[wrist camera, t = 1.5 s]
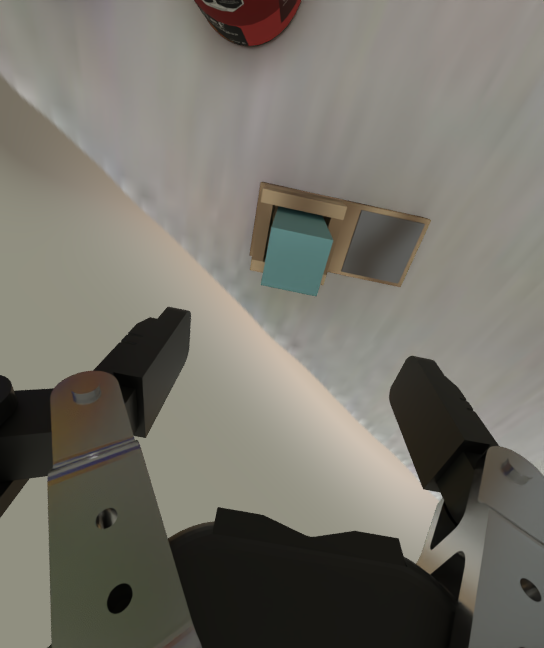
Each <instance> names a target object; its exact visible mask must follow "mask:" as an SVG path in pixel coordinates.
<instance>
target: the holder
mask: <svg viewBox="0 0 544 648" xmlns="http://www.w3.org/2000/svg"><path fill="white" fill-rule="evenodd" d="M278 206H281V207H285V208H290V209H295V210H299V211H304V212H308V213H313V214H318V215H322V216H323V218H324V220H325V223H326V225H327V227H328V229H329V232H330V234H331V236H332V238H333V243H332V247H331V250H330V253H329V257H328V260H327V263H326V266H325V270H324V273H323V276H322V280H321V283H320V285H323V284H324V281H325V278H326V275H327V272H331V273H336V274H341V275H345V276H350V277H355V278H360V279H364V280H369V281H374V282H379V283H383V284H388V285H393V286H398V287H401V285H402V283H403V280H404V278H405V276H406V274H407V272H408V269H409V267H410V265H411V263H412V261H413V259H414V256H415V254H416V252H417V250H418V248H419V246H420V243H421V241H422V239H423V237H424V235H425V233H426V230H427V228H428V226H429V224H430V222H431V220H430V219H428V218H424V217H419V216H415V215H410V214H406V213H401V212H397V211H392V210H387V209H383V208H378V207H374V206H369V205H365V204H360V203H356V202H351V201H347V200H342V199H338V198H333V197H329V196H324V195H319V194H315V193H310V192H306V191H301V190H297V189H292V188H288V187H283V186H279V185H274V184H270V183H265V182H261V184H260V191H259V197H258V204H257V210H256V216H255V223H254V229H253V236H252V242H251V249H250V255H251V256H252V260H251V266H250V270H252V271H257V272H262V273H263V270H264V265H265V260H266V254H267V249H268V243H269V238H270V233H271V227H272V224H273V221H274V218H275V215H276V212H277V209H278Z"/></svg>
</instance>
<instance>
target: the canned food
mask: <svg viewBox="0 0 544 648" xmlns="http://www.w3.org/2000/svg"><path fill="white" fill-rule="evenodd" d="M194 1H195V2H196V4H197V5H198V7H199V8H200V10H201V11H202V13H203V14H204V16H205V17H206V19H207V20H208V22H209V23H210V25H211V26H212V27H213V28H214V29H215V30H216V31H217V32H218V33H219V34H220V35H221V36H223V37H224V38H226V39H227V40H229V41H231V42H233V43H236V44H238V45H245V46H253V45H260V44H263V43H265V42H268V41H270V40H271V39H273V38H274V37H276V36H277V35H279V34H280V33H281V32H282V31H283V30H284V29H285V27H286V26H287V25H288V24H289V23H290V21H291V20H292V18H293V16H294V15H295V13H296V11H297V9H298V7H299V4H300V2H301V0H194Z"/></svg>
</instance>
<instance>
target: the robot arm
mask: <svg viewBox="0 0 544 648" xmlns="http://www.w3.org/2000/svg"><path fill="white" fill-rule="evenodd" d="M190 322H191V313H190V311H187V310H182V309H177V308H172V307H167V308H166V309H165V310H164V312H163V313H162V314H161V315H160V316H159V318H158V319H155V318H148V319H146V320H144V321H142V322H140V323H138V324H136V325H135V326H134V328H132V330H131V331H130V332H129V333H128V335H126V336H125V337H124V338H123V339H122V341H121V343H118V345H117V346H116V347H115V348H114V349H113V350H112V351H111V352H110V353H109V354H108V355H107V356H106V357H105V359H104V360H103V361H102V362H101V363H100V364H99V365H98V366H97V367H96V368H95V369H94V370H93V371H86V372H81V373H77V374H75V375H72V376H70V377H68V378H66V379H64V380H62V381H61V382H60V383H59V384H58V385H57V386H56V387H55V388H53V389H39V390H21V391H14V390H13V387H12V384H11V382H10V380H9V379H8V378H6V377H4V376H2V375H0V517H1V516H2V515H3V513H4V512H5V511H6V509H7V508H8V507H9V505H10V504H11V503H12V501H13V500H14V499H15V497H16V496H17V495H18V493H19V492H20V491H21V489H22V488H23V486H24V485H25V484H26V483H27V481H28V480H29V478H36V477H43V476H48V519H49V520H48V523H49V560H50V599H51V638H52V644H51V645H50V646H49V647H48V648H544V476H543V475H542V474H541V472H540V471H539V470H538V469H537V468H536V467H535V466H534V465H533V464H532V463H530V462H529V461H528V460H527V459H525V458H524V457H522V456H521V455H519V454H518V453H516V452H514V451H512V450H510V449H507V448H504V447H500V446H499V445H498V444H497V442H496V441H495V439H494V438H493V437H492V435H491V434H490V432H489V431H488V430H487V428H486V427H485V425H484V424H483V422H482V421H481V420H480V418H479V417H478V415H477V414H476V412H473V408H472V407H471V405H470V404H469V402H467V401H466V398H465V397H464V395H463V394H462V393H461V391H460V390H459V388H458V387H457V386H456V385H455V384H453V383H452V382H451V381H450V380H449V379H448V378H447V377H446V376H444V374H443V373H442V371H441V370H440V368H439V367H438V365H437V364H436V363H435V361H433V360H430V359H425V358H420V357H415V356H410V357H408V358H407V359H406V361H405V363H404V364H403V366H402V368H401V370H400V372H399V374H398V375H397V377H396V379H395V381H394V383H393V385H392V386H391V389H390V394H389V400H390V404H391V407H392V409H393V412H394V415H395V417H396V420H397V422H398V425H399V428H400V430H401V433H402V435H403V438H404V440H405V443H406V446H407V448H408V451H409V453H410V456H411V459H412V461H413V464H414V466H415V469H416V472H417V474H418V477H419V479H420V482H421V485H422V487H423V489H425V490H430V491H436V492H441V495H442V497H443V498H442V499H441V501H440V502H439V503H438V505H437V507H436V510H435V513H434V516H433V519H432V522H431V526H430V528H429V532H428V535H427V538H426V541H425V544H424V547H423V550H422V553H421V556H420V557H419V559H418V561H417V563H416V564H415V563H414V562H412V561H410V560H409V559H407V558H405V557H403V553H402V550H401V546H400V542H399V539H398V538H392V537H387V536H381V535H376V534H370V533H364V532H358V531H351V532H344V533H338V534H331V535H324V536H317V537H309V536H306V535H304V534H302V533H299V532H297V531H295V530H293V529H291V528H289V527H287V526H285V525H283V524H281V523H279V522H277V521H274V520H272V519H270V518H268V517H266V516H264V515H260V514H254V513H248V512H243V511H237V510H231V509H225V508H220V507H218V508H217V513H216V518H215V521H214V522H207V523H202V524H198V525H195V526H192V527H189V528H187V529H185V530H182V531H180V532H178V533H177V534H175V535H173V536H171V537H170V538H167V535H166V532H165V528H164V525H163V521H162V518H161V514H160V511H159V508H158V504H157V501H156V497H155V494H154V491H153V487H152V484H151V480H150V477H149V474H148V471H147V467H146V464H145V460H144V457H143V453H142V450H141V447H140V444H139V442H138V441H137V440H135V439H134V436H138V437H144V438H146V436H147V435H148V433H149V431H150V429H151V427H152V425H153V423H154V421H155V419H156V417H157V416H158V414H159V412H160V410H161V408H162V406H163V404H164V402H165V400H166V398H167V396H168V395H169V393H170V391H171V388H172V387H173V385H174V383H175V381H176V379H177V377H178V376H179V373H180V372H181V370H182V368H183V366H184V364H185V362H186V359H187V356H188V352H189V341H190Z"/></svg>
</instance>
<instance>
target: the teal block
mask: <svg viewBox="0 0 544 648" xmlns="http://www.w3.org/2000/svg"><path fill="white" fill-rule="evenodd" d="M332 243H333V238H332V236H331V234H330V232H329V229H328V227H327V225H326V223H325V220H324V218H323V216H322V215H318V214H313V213H308V212H304V211H299V210H295V209H290V208H285V207H281V206H278V209H277V212H276V215H275V218H274V221H273V224H272V227H271V233H270V238H269V243H268V249H267V254H266V260H265V265H264V270H263V276H262V281H261V285H264V286H268V287H273V288H278V289H283V290H288V291H293V292H297V293H302V294H307V295H312V296H317V293H318V290H319V286H320V283H321V280H322V276H323V273H324V270H325V266H326V263H327V260H328V257H329V253H330V250H331V247H332Z"/></svg>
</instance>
